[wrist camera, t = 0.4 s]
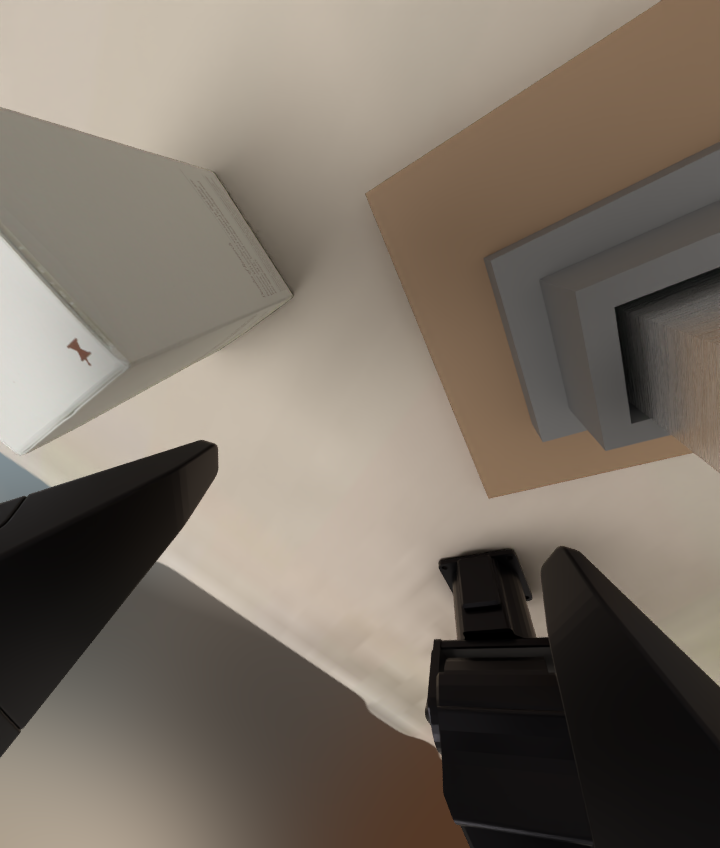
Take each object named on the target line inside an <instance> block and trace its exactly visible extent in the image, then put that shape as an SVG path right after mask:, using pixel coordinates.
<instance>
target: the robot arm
mask: <svg viewBox="0 0 720 848" xmlns="http://www.w3.org/2000/svg"><path fill="white" fill-rule="evenodd" d="M217 472H218V447H217V445H216V444H214V443H211V442H208V441H204V440H199V441H196V442H193V443H189V444H186V445H183V446H180V447H177V448H174V449H170V450H167V451H164V452H161V453H158V454H155V455H152V456H148V457H145V458H142V459H139V460H136V461H133V462H129V463H126V464H123V465H120V466H117V467H114V468H111V469H107V470H104V471H101V472H98V473H95V474H92V475H88V476H85V477H82V478H79V479H76V480H73V481H69V482H66V483H63V484H60V485H57V486H54V487H50V488H48V489H44V490H41V491H38V492H35V493H32V494H29V495H28V496H27V497H26V496H22V497H19V498H16V499H12V500H10V501H6V502H3V503H0V757H1V756H2V755H3V754H4V752H5V751H6V750H7V749H8V747H9V746H10V745H11V744H12V742H13V741H14V740H15V739H16V737H17V736H18V735H19V734H20V732H21V729H22V728H24V727H25V726H26V724H27V723H28V722H29V720H30V719H31V718H32V717H33V716H34V714H35V713H36V712H37V710H38V709H39V708H40V707H41V705H42V704H43V703H44V702H45V700H46V699H47V698H48V697H49V695H50V694H51V693H52V692H53V690H54V689H55V688H56V687H57V685H58V684H59V683H60V682H61V680H62V679H63V678H64V677H65V675H66V674H67V673H68V671H69V670H70V669H71V668H72V666H73V665H74V664H75V663H76V661H77V660H78V659H79V657H80V656H81V655H82V654H83V652H84V651H85V650H86V649H87V648H88V646H89V645H90V644H91V643H92V641H93V640H94V639H95V638H96V636H97V635H98V634H99V633H100V631H101V630H102V629H103V628H104V626H105V625H106V624H107V622H108V621H109V620H110V619H111V617H112V616H113V615H114V614H115V612H116V611H117V610H118V609H119V607H120V606H121V605H122V604H123V602H124V601H125V600H126V598H127V597H128V596H129V595H130V594H131V592H132V591H133V590H134V589H135V587H136V586H137V585H138V584H139V582H140V581H141V580H142V578H143V577H144V576H145V575H146V573H147V572H148V571H149V570H150V568H151V567H152V566H153V565H154V563H155V562H156V561H157V560H158V558H159V557H160V556H161V555H162V553H163V552H164V551H165V550H166V548H167V547H168V546H169V545H170V543H171V542H172V541H173V540H174V538H175V537H176V536H177V535H178V533H179V532H180V531H181V529H182V528H183V527H184V525H185V524H186V522H187V521H188V519H189V518H190V516H191V515H192V513H193V512H194V510H195V509H196V507H197V505H198V504H199V502H200V501H201V499H202V498H203V496H204V494H205V493H206V491H207V490H208V488H209V487H210V485H211V483H212V482H213V480H214V479H215V477H216V475H217ZM439 569H440V571H441V573H442V575H443V577H444V578H445V580H446V582H447V584H448V586H449V587H450V589H451V591H452V593H453V596H454V608H455V620H456V632H457V640H444V641H442V640H441V639H434V645H433V650H432V653H431V664H430V676H429V687H428V698H427V703H426V708H425V716H426V719H427V721H428V722H429V723H430V725H431V727H432V733H433V738H434V742H435V745H436V748H437V750H438V752H439V753H440V754H441V755H442V768H443V792H444V797H445V799H446V802H447V804H448V807H449V810H450V813H451V815H452V817H453V820H454V822H455V823H456V824H457V825H460V826H461V828H462V830H463V832H464V835H465V837H466V839H467V841H468V844H469V846H470V848H720V687H719V686H718V685H717V684H716V683H715V682H714V681H713V680H712V679H711V678H710V677H709V676H708V675H707V674H706V673H705V672H704V671H703V670H702V669H701V668H700V667H698V666H697V665H696V664H695V663H694V662H693V661H692V660H691V659H690V658H689V657H688V656H687V655H686V654H685V653H684V652H683V651H682V650H681V649H680V648H679V647H678V646H677V645H676V644H675V643H674V642H673V641H672V640H671V639H669V638H668V637H667V636H666V635H665V634H664V633H663V632H662V631H661V630H660V629H659V628H658V627H657V626H656V625H655V624H654V623H653V622H652V621H651V620H650V619H649V618H648V617H647V616H646V615H645V614H644V613H643V612H642V611H641V610H640V609H638V608H637V607H636V606H635V605H634V604H633V603H632V602H631V601H630V600H629V599H628V598H627V597H626V596H625V595H624V594H623V593H622V592H621V591H620V590H619V589H618V588H617V587H616V586H615V585H614V584H613V583H612V582H611V581H610V580H609V579H607V578H606V577H605V576H604V575H603V574H602V573H601V572H600V571H599V570H598V569H597V568H596V567H595V566H594V565H593V564H592V563H591V562H590V561H589V560H588V559H587V558H586V557H585V556H584V555H583V554H582V553H580V552H579V551H577V550H575V549H571V548H568V547H565V546H560V547H557V548H556V549H555V551H554V552H553V553H552V554H551V556H550V557H549V558H548V559H547V560H546V562H545V563H544V564H543V566H542V568H541V582H542V590H543V599H544V607H545V616H546V624H547V631H548V637H543V638H537V637H536V634H535V630H534V627H533V623H532V620H531V616H530V613H529V609H528V606H527V602H526V601H530V600H532V594H531V591H530V589H529V586H528V584H527V581H526V579H525V576H524V574H523V571H522V569H521V566H520V564H519V561H518V558H517V556H516V553H515V552H514V551H513V550H502V551H496V552H490V553H484V554H477V555H471V556H465V557H459V558H453V559H447V560H442V561H440V562H439Z"/></svg>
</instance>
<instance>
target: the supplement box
mask: <svg viewBox="0 0 720 848" xmlns="http://www.w3.org/2000/svg"><path fill="white" fill-rule="evenodd" d="M292 297H293V295H292V293H291V292H290V290H289V288H288V287H287V285H286V284H285V282H284V280H283V279H282V277H281V276H280V274H279V273H278V271H277V269H276V268H275V266H274V265H273V263H272V262H271V260H270V259H269V257H268V255H267V254H266V252H265V251H264V249H263V248H262V246H261V245H260V243H259V241H258V240H257V238H256V237H255V235H254V233H253V232H252V230H251V229H250V227H249V226H248V224H247V223H246V221H245V220H244V218H243V216H242V215H241V213H240V212H239V210H238V209H237V207H236V206H235V204H234V203H233V201H232V200H231V198H230V196H229V195H228V193H227V191H226V190H225V188H224V187H223V186H222V184H221V183H220V181H219V180H218V178H217V177H216V175H215V174H214V173H213V172H212V171H210V170H207V169H204V168H200V167H197V166H194V165H190V164H187V163H184V162H181V161H178V160H174V159H171V158H167V157H164V156H161V155H158V154H154V153H151V152H147V151H144V150H141V149H137V148H134V147H131V146H128V145H124V144H121V143H118V142H114V141H111V140H108V139H104V138H101V137H97V136H94V135H91V134H88V133H84V132H81V131H78V130H75V129H72V128H69V127H65V126H62V125H58V124H55V123H51V122H48V121H45V120H41V119H38V118H35V117H32V116H28V115H25V114H22V113H19V112H16V111H12V110H9V109H5V108H1V107H0V441H1V442H2V443H3V444H5V445H6V446H7V447H8V448H10V449H11V450H12V451H13V452H14V453H15V454H17V455H25V454H27V453H29V452H31V451H33V450H35V449H37V448H39V447H41V446H43V445H45V444H47V443H49V442H51V441H53V440H54V439H56V438H58V437H60V436H62V435H64V434H66V433H68V432H70V431H72V430H74V429H76V428H78V427H79V426H81V425H83V424H85V423H87V422H89V421H90V420H92V419H94V418H96V417H98V416H100V415H101V414H103V413H105V412H107V411H109V410H110V409H112V408H114V407H116V406H118V405H119V404H121V403H123V402H125V401H127V400H128V399H130V398H132V397H134V396H136V395H138V394H139V393H141V392H143V391H145V390H147V389H148V388H150V387H152V386H154V385H156V384H158V383H159V382H161V381H163V380H165V379H167V378H168V377H170V376H172V375H174V374H176V373H178V372H179V371H181V370H183V369H185V368H187V367H188V366H190V365H192V364H194V363H196V362H198V361H200V360H202V359H204V358H206V357H208V356H209V355H211V354H213V353H215V352H217V351H218V350H220V349H221V348H223V347H224V346H226V345H227V344H229V343H230V342H232V341H233V340H235V339H236V338H238V337H239V336H241V335H242V334H244V333H245V332H247V331H248V330H249V329H251V328H252V327H253V326H255V325H256V324H257V323H259V322H260V321H262V320H263V319H264V318H266V317H267V316H268V315H270V314H271V313H272V312H274V311H275V310H276V309H278V308H279V307H281V306H282V305H283V304H284V303H286V302H287V301H289V300H290V299H291V298H292Z"/></svg>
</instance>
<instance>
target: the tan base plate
mask: <svg viewBox="0 0 720 848" xmlns="http://www.w3.org/2000/svg"><path fill="white" fill-rule="evenodd" d="M365 195H366V197H367V200H368V202H369V205H370V207H371V210H372V212H373V215H374V217H375V219H376V222H377V224H378V227H379V229H380V232H381V234H382V237H383V239H384V242H385V244H386V247H387V249H388V252H389V254H390V256H391V259H392V261H393V264H394V266H395V269H396V271H397V274H398V276H399V279H400V281H401V284H402V286H403V289H404V291H405V294H406V296H407V298H408V301H409V303H410V306H411V308H412V311H413V313H414V316H415V318H416V321H417V323H418V326H419V328H420V331H421V333H422V335H423V338H424V340H425V343H426V345H427V348H428V350H429V353H430V355H431V358H432V360H433V363H434V365H435V368H436V370H437V372H438V375H439V377H440V380H441V382H442V385H443V387H444V390H445V392H446V395H447V397H448V400H449V402H450V405H451V407H452V410H453V412H454V414H455V417H456V419H457V422H458V424H459V427H460V429H461V432H462V434H463V437H464V439H465V442H466V444H467V447H468V449H469V451H470V454H471V456H472V459H473V461H474V464H475V466H476V469H477V471H478V474H479V476H480V479H481V481H482V484H483V486H484V488H485V491H486V493H487V496H488V498H494V497H498V496H503V495H507V494H512V493H516V492H521V491H525V490H529V489H534V488H538V487H543V486H547V485H552V484H556V483H561V482H565V481H569V480H574V479H578V478H583V477H587V476H592V475H596V474H601V473H605V472H610V471H614V470H618V469H623V468H627V467H632V466H636V465H641V464H645V463H650V462H654V461H658V460H663V459H667V458H672V457H676V456H681V455H685V454H690V453H694V452H692V451H691V450H690V449H689V448H687V447H686V446H685V445H683V444H682V443H681V442H680V441H678V440H677V439H676V438H675V437H673V436H672V435H671V434H670V433H668V432H667V431H666V430H665V429H663V428H662V427H661V426H659V425H658V424H657V423H656V422H654V421H653V420H652V419H651V418H649V417H648V416H647V415H646V414H644V413H643V412H642V411H641V410H639V409H638V408H637V407H635V406H634V405H633V404H632V403H630V402H629V401H628V397H627V390H626V384H625V377H624V370H623V363H622V356H621V349H620V342H619V335H618V328H617V322H616V315H615V308H614V307H616V306H619V305H621V304H624V303H627V302H629V301H632V300H635V299H637V298H640V297H642V296H645V295H648V294H650V293H653V292H655V291H658V290H661V289H663V288H666V287H668V286H671V285H674V284H676V283H679V282H681V281H684V280H687V279H689V278H692V277H695V276H697V275H700V274H702V273H705V272H708V271H710V270H713V269H715V268H718V267H720V0H662V1H660V2H659V3H657V4H656V5H654V6H653V7H651V8H650V9H648V10H647V11H645V12H643V13H642V14H640V15H639V16H637V17H636V18H634V19H633V20H631V21H630V22H628V23H627V24H625V25H623V26H622V27H620V28H619V29H617V30H616V31H614V32H613V33H611V34H610V35H608V36H607V37H605V38H604V39H602V40H600V41H599V42H597V43H596V44H594V45H593V46H591V47H590V48H588V49H587V50H585V51H584V52H582V53H580V54H579V55H577V56H576V57H574V58H573V59H571V60H570V61H568V62H567V63H565V64H564V65H562V66H561V67H559V68H557V69H556V70H554V71H553V72H551V73H550V74H548V75H547V76H545V77H544V78H542V79H541V80H539V81H537V82H536V83H534V84H533V85H531V86H530V87H528V88H527V89H525V90H524V91H522V92H521V93H519V94H518V95H516V96H514V97H513V98H511V99H510V100H508V101H507V102H505V103H504V104H502V105H501V106H499V107H498V108H496V109H494V110H493V111H491V112H490V113H488V114H487V115H485V116H484V117H482V118H481V119H479V120H478V121H476V122H475V123H473V124H471V125H470V126H468V127H467V128H465V129H464V130H462V131H461V132H459V133H458V134H456V135H455V136H453V137H451V138H450V139H448V140H447V141H445V142H444V143H442V144H441V145H439V146H438V147H436V148H435V149H433V150H432V151H430V152H428V153H427V154H425V155H424V156H422V157H421V158H419V159H418V160H416V161H415V162H413V163H412V164H410V165H408V166H407V167H405V168H404V169H402V170H401V171H399V172H398V173H396V174H395V175H393V176H392V177H390V178H389V179H387V180H385V181H384V182H382V183H381V184H379V185H378V186H376V187H375V188H373V189H372V190H370V191H369V192H367V193H365Z"/></svg>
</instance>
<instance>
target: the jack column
mask: <svg viewBox="0 0 720 848" xmlns="http://www.w3.org/2000/svg"><path fill="white" fill-rule="evenodd" d="M614 308H615V315H616V322H617V328H618V335H619V342H620V349H621V356H622V363H623V370H624V377H625V384H626V390H627V397H628V401H629V402H630V403H632V404H633V405H634V406H635V407H637V408H638V409H639V410H641V411H642V412H643V413H644V414H646V415H647V416H648V417H649V418H651V419H652V420H653V421H654V422H656V423H657V424H658V425H659V426H661V427H662V428H663V429H665V430H666V431H667V432H668V433H670V434H671V435H672V436H673V437H675V438H676V439H677V440H678V441H680V442H681V443H682V444H683V445H685V446H686V447H687V448H689V449H690V450H691V451H692V452H694V453H695V454H696V455H697V456H699V457H700V458H701V459H702V460H704V461H705V462H706V463H707V464H709V465H710V466H711V467H713V468H714V469H715V470H716V471H718V472H719V473H720V267H718V268H715V269H713V270H710V271H708V272H705V273H702V274H700V275H697V276H695V277H692V278H689V279H687V280H684V281H681V282H679V283H676V284H674V285H671V286H668V287H666V288H663V289H661V290H658V291H655V292H653V293H650V294H648V295H645V296H642V297H640V298H637V299H635V300H632V301H629V302H627V303H624V304H621V305H619V306H616V307H614Z"/></svg>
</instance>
